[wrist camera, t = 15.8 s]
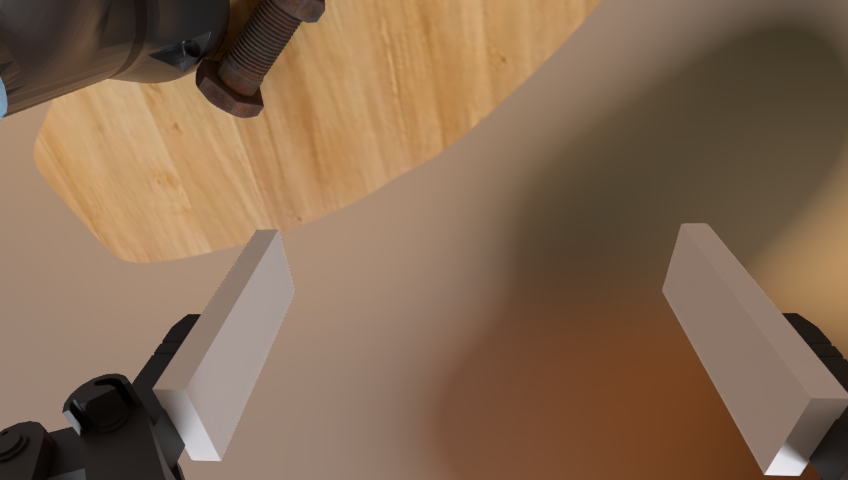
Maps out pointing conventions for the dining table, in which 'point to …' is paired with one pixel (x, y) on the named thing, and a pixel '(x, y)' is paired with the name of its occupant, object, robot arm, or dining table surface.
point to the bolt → (254, 55)
